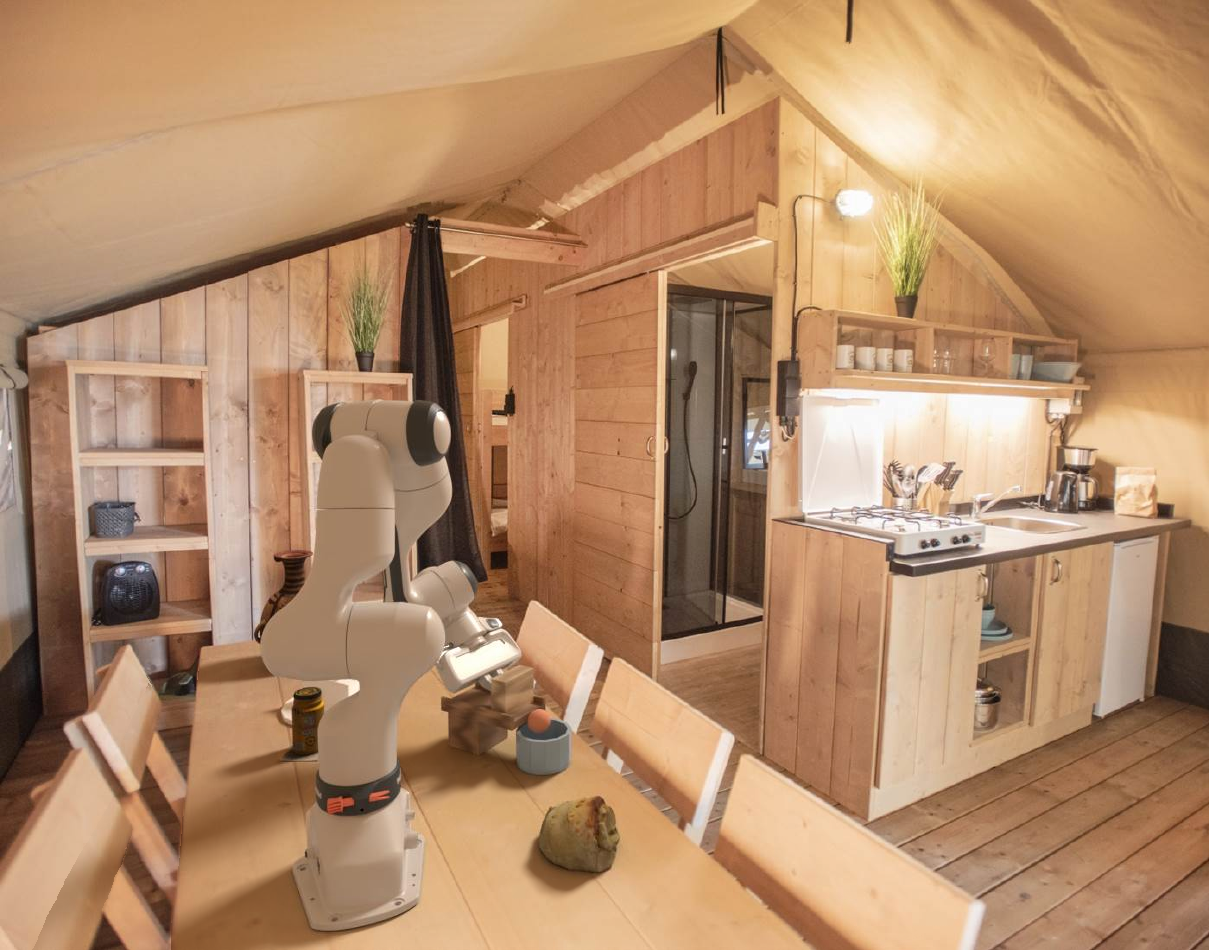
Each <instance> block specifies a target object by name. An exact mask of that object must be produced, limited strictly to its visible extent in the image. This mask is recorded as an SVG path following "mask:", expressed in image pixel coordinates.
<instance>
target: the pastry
mask: <svg viewBox="0 0 1209 950" xmlns="http://www.w3.org/2000/svg"><path fill="white" fill-rule="evenodd" d="M614 811H615V810H614V809H613V808H612V807H611V806H610V805H608V804H606V801H605V799H604V798H603V797H602V796H600V795H595V796H591V797H582V798H578V799H575V800H567V801H562V802H559V803H557V804H555V805H554V806H551V805H550V806H549V808H548V810H547V812H546V813H545V816H544V818H543V820H542V823H541V827H540V830H539V835H538V836H539V837H538V847H539V851H540V853H543V854H544V856H545V857H546V859H547V860H549V861H550V862H552V863H553V864H554V865H558V866H559V867H563V868H565V869H566V870H569V871H578V872H581V871H582V872H587V873H591V874H594V873H599V874H600V873H601V872H605V871H607V870H609V869H610V867H611V866H612V865H613V864H614V861H615V858H616V852H617V846H618V845H619V843H620V841H621V840H620V839H621V835H620V831H619V829H618V827H617V826H616V824H617V819H616V814H615V812H614Z"/></svg>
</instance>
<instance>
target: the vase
mask: <svg viewBox="0 0 1209 950" xmlns="http://www.w3.org/2000/svg"><path fill="white" fill-rule="evenodd" d="M311 556H314V551H311V550H304V549H293V550H284V551H278V552H277V553H274V554H273V560H274V562H276V563H280V562H281V563H282V565H283V568H284V582H283V585H282V587H281V588H280V589H279V590H277V591H276V592H275V593H274V594H272V595H271V596H270V597H269V598H268V600H267V601H266V603H265V605H264V607H263V609H262V611H261V615H260V621H259V623H257V626H256V628H255V629H254V632H253V637H254V640H255V642H256V643H257V644H258V645H260V642H261V637H262V633H263V631H264V628H265V626H266V625H267V623H268V622H269V620H270V619H271V618H272V617H273V616H274V615H275V614H276V613H277V612H278V611H279V610H281V609H282V608H284V607H285V606H286V605H287V604H288V603H289V602H290V601H291V600H292V599H293V598H294V597H295V596H296V595H297V594H298V592H299V591H300V590H301V588H302V587H303V585H304V583H305V581H306V578H305V572H304V571H305V570H304V566H305V561H306V560H307V558H310V557H311Z"/></svg>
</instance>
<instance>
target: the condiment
mask: <svg viewBox="0 0 1209 950" xmlns="http://www.w3.org/2000/svg"><path fill="white" fill-rule="evenodd" d="M292 697H294V700H293V706H292V725H291V733H292V734H291V735H292V738H291V739H292V740H291V742H292V746H291V747H290V748H289V749H288V750H287V751H286V752H285V753H284V754H283V756H281V757H280V759H279V761H283V762H284V761H285V762H307V761H308V762H311V761H318V726H319V723H320V720H321V718H322V717H323V715H324V702H323V701H322V691H321V689H320V688H318V687H305V688H302V687H301V688H299V689H297V690H295V691H294V693H293V695H292Z"/></svg>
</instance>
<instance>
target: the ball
mask: <svg viewBox="0 0 1209 950" xmlns="http://www.w3.org/2000/svg"><path fill="white" fill-rule="evenodd" d="M550 718H551V716H550V714H549V713H548V712H547V711H546V709H545V710H542V709H536V710H534V711H532V712H531V713H530V715H529V717H528V726H529V728H530V730H531V731H533V732H535V733H543V732H545V731H546V730H547V729H548V728H549V726H550Z"/></svg>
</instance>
